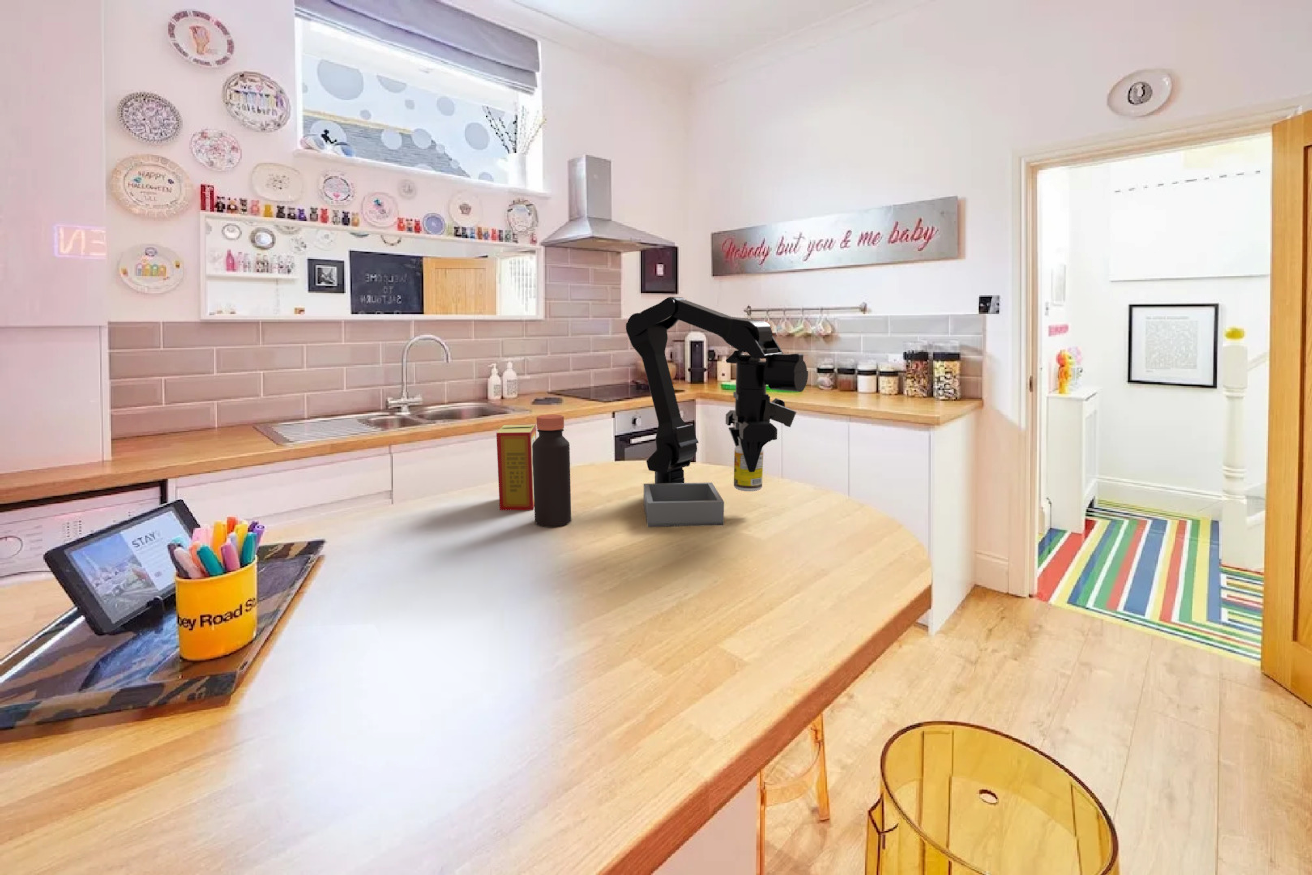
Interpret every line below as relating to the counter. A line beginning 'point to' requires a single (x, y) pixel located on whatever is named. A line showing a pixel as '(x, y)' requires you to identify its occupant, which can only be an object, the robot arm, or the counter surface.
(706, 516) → the box
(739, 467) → the supplement bottle
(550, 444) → the vinegar
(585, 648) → the counter surface
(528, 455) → the baking soda box
